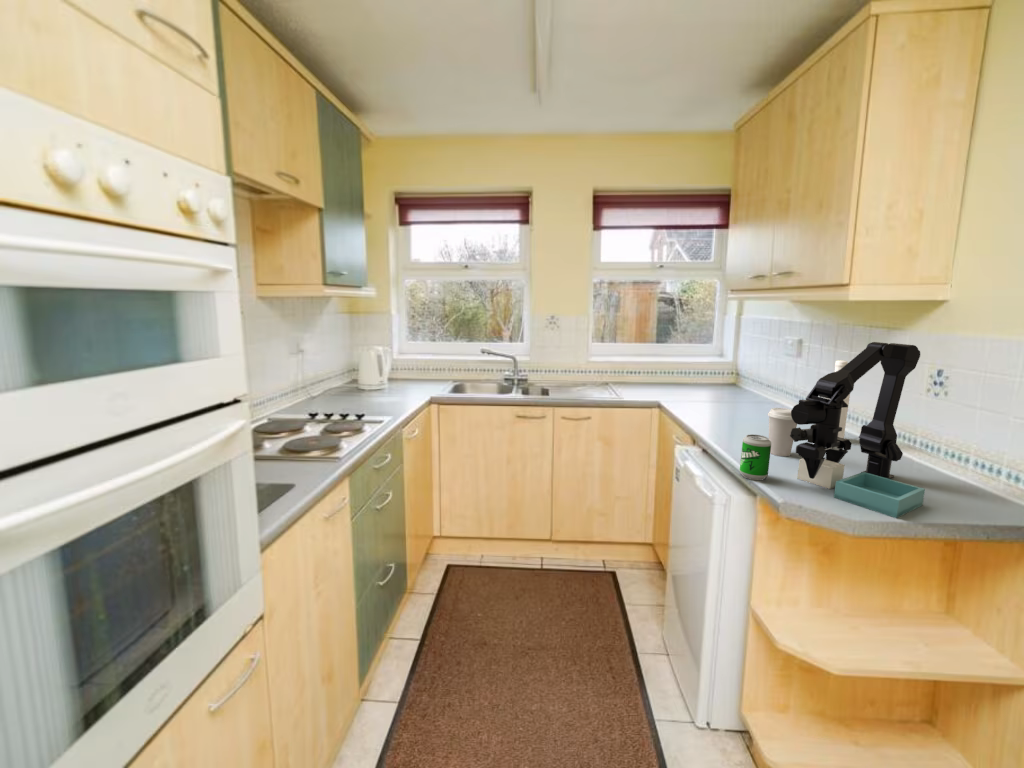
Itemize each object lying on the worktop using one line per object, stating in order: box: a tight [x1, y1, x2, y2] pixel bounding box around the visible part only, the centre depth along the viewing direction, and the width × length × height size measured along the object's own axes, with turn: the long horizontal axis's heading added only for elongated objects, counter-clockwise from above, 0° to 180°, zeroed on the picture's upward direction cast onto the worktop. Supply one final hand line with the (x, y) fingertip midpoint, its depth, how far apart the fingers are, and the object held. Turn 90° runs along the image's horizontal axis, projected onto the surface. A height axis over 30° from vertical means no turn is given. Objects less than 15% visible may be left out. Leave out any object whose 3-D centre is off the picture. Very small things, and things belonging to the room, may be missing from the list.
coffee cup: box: [767, 407, 798, 457], centre depth 165 cm, size 10×10×15 cm
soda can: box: [739, 434, 771, 481], centre depth 143 cm, size 8×8×12 cm
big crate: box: [833, 471, 926, 519], centre depth 127 cm, size 15×14×4 cm
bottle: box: [826, 359, 851, 438], centre depth 181 cm, size 8×8×30 cm
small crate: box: [797, 457, 845, 490], centre depth 140 cm, size 6×9×6 cm
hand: (820, 475), depth 140 cm, fingers open, 9 cm apart
